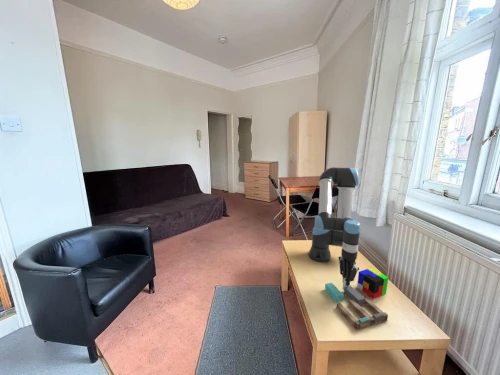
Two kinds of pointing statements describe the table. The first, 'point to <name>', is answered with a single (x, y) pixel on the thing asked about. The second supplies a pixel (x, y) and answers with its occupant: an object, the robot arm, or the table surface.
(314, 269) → the table surface
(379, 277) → the puzzle toy
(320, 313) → the table surface
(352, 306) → the comb rack
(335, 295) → the teal block
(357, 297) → the grey block
